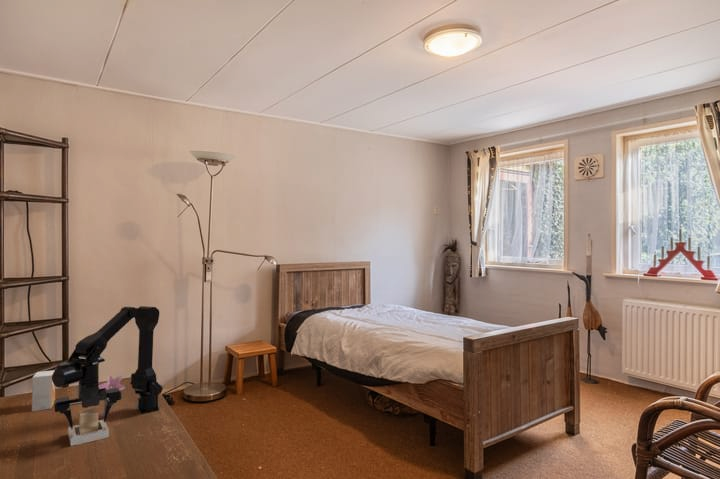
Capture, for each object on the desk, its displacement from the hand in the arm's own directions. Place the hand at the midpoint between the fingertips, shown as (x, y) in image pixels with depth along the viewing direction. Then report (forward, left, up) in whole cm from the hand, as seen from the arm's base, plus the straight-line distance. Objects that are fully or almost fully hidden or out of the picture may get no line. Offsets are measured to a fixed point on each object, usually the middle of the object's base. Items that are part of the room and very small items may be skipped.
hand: (88, 425), depth 146 cm
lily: (-12, -37, -4) cm, 39 cm away
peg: (0, 0, -4) cm, 4 cm away
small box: (+11, -41, -4) cm, 43 cm away
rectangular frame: (0, 0, -4) cm, 4 cm away
